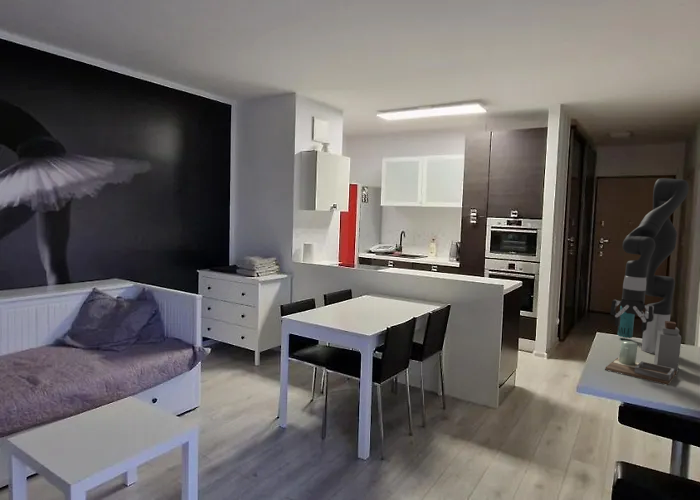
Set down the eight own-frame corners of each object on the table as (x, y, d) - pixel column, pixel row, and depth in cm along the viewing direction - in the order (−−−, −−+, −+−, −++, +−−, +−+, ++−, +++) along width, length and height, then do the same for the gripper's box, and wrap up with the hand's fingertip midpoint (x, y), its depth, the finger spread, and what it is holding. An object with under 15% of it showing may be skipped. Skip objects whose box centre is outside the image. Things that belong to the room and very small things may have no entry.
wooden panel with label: (617, 360, 191) (618, 352, 191) (676, 373, 177) (677, 366, 177) (605, 369, 178) (606, 361, 178) (668, 385, 165) (669, 376, 165)
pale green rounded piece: (636, 363, 184) (639, 343, 184) (632, 367, 178) (634, 346, 178) (620, 359, 188) (622, 339, 187) (615, 363, 182) (617, 343, 182)
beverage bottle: (628, 337, 227) (632, 296, 225) (635, 341, 220) (639, 299, 219) (614, 336, 228) (618, 296, 226) (620, 340, 221) (624, 298, 219)
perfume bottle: (674, 366, 186) (679, 321, 185) (677, 371, 180) (682, 325, 178) (654, 363, 189) (658, 319, 187) (656, 368, 183) (661, 322, 181)
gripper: (658, 289, 179) (653, 331, 181) (616, 284, 189) (612, 323, 191) (653, 292, 174) (648, 335, 176) (611, 286, 183) (607, 326, 185)
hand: (630, 329), depth 183 cm, fingers open, 8 cm apart
